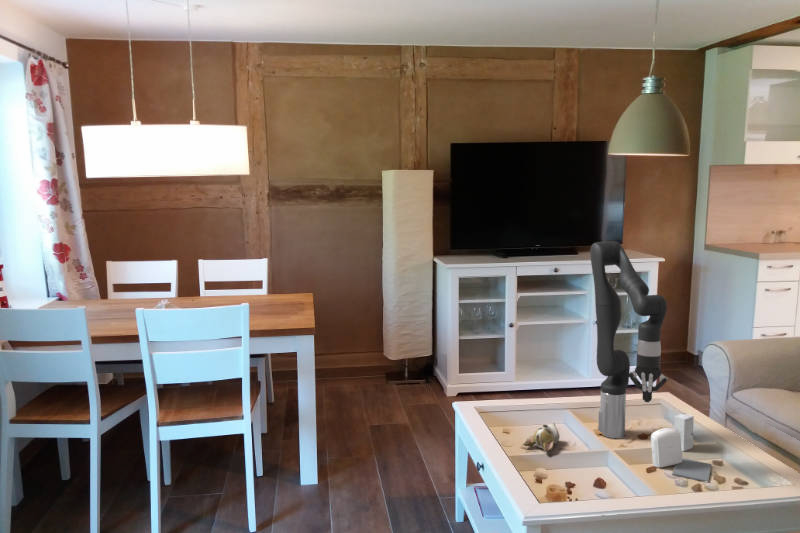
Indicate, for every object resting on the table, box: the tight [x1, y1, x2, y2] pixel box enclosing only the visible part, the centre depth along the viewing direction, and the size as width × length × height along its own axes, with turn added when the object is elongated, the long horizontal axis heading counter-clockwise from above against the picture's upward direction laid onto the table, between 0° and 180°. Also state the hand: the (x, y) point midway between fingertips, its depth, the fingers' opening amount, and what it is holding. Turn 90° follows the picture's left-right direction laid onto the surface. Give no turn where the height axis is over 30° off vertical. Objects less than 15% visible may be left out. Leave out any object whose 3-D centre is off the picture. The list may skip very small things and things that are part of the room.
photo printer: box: [650, 427, 683, 469], centre depth 199 cm, size 10×4×12 cm, turn 105°
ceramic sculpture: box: [522, 422, 561, 453], centre depth 216 cm, size 11×9×15 cm
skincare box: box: [673, 412, 695, 452], centre depth 213 cm, size 6×4×12 cm
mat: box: [671, 457, 712, 482], centre depth 196 cm, size 10×14×1 cm
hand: (647, 401), depth 201 cm, fingers closed
